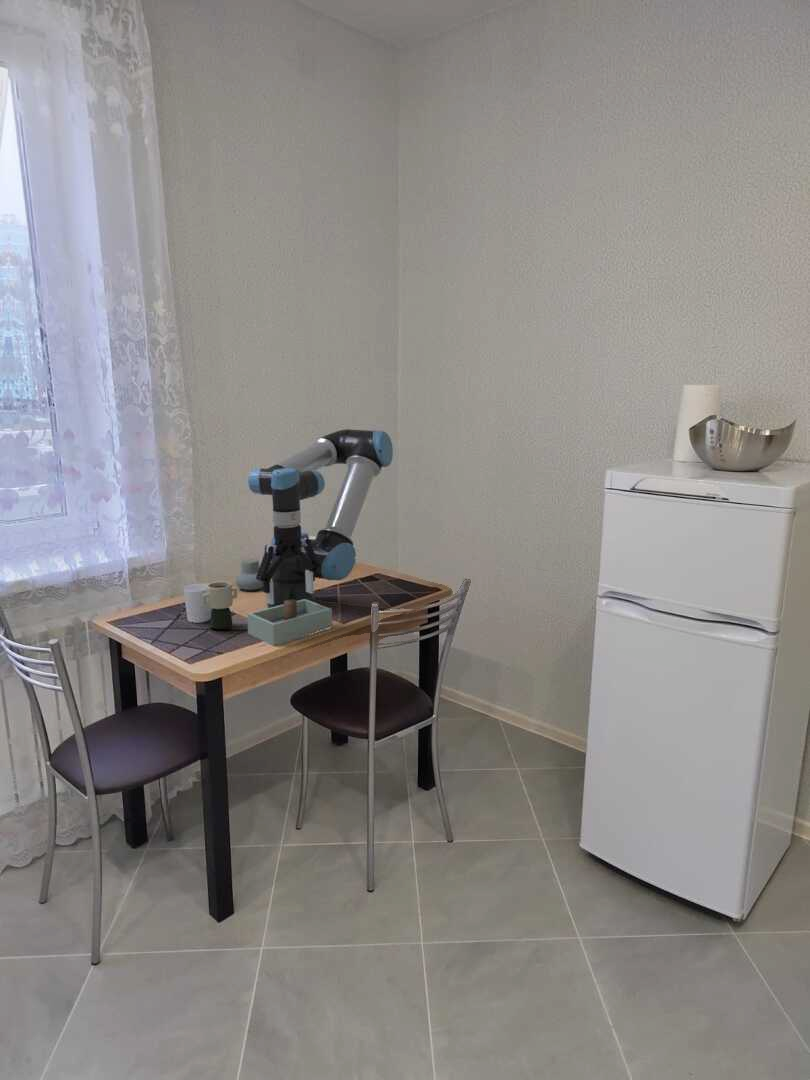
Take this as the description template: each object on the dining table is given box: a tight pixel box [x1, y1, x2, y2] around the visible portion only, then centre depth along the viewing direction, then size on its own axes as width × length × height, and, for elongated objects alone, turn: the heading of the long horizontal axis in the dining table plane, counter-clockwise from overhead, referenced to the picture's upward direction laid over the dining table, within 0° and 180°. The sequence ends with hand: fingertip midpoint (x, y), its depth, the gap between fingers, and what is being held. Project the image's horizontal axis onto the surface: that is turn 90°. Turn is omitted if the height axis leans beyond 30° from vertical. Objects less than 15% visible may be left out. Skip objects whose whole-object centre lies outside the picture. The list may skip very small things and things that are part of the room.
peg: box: [284, 599, 297, 620], centre depth 203 cm, size 4×4×9 cm
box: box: [246, 599, 333, 647], centre depth 203 cm, size 20×13×6 cm, turn 134°
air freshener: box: [235, 557, 263, 591], centre depth 244 cm, size 11×8×10 cm
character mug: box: [202, 581, 238, 630], centre depth 205 cm, size 11×7×13 cm, turn 132°
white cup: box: [183, 583, 212, 624], centre depth 212 cm, size 8×8×10 cm
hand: (290, 597), depth 202 cm, fingers open, 13 cm apart
